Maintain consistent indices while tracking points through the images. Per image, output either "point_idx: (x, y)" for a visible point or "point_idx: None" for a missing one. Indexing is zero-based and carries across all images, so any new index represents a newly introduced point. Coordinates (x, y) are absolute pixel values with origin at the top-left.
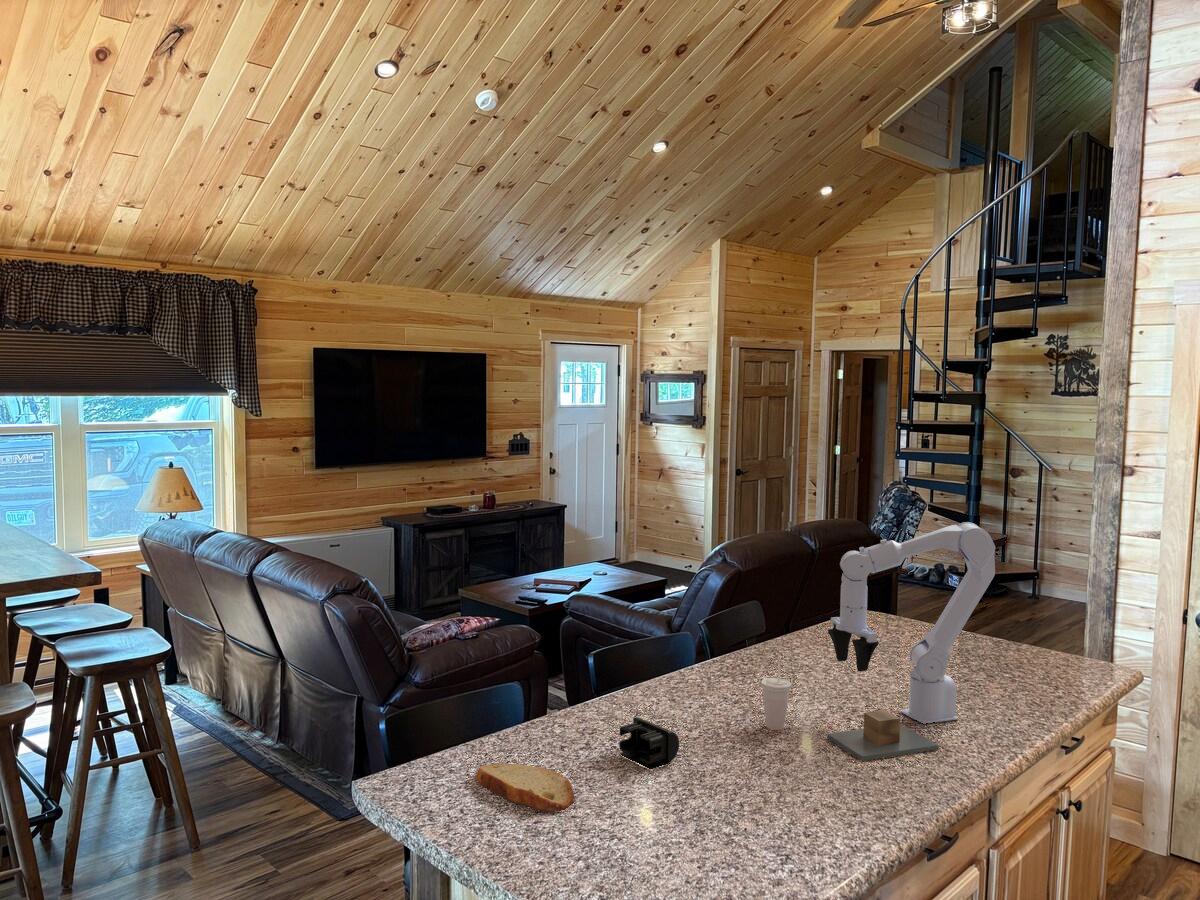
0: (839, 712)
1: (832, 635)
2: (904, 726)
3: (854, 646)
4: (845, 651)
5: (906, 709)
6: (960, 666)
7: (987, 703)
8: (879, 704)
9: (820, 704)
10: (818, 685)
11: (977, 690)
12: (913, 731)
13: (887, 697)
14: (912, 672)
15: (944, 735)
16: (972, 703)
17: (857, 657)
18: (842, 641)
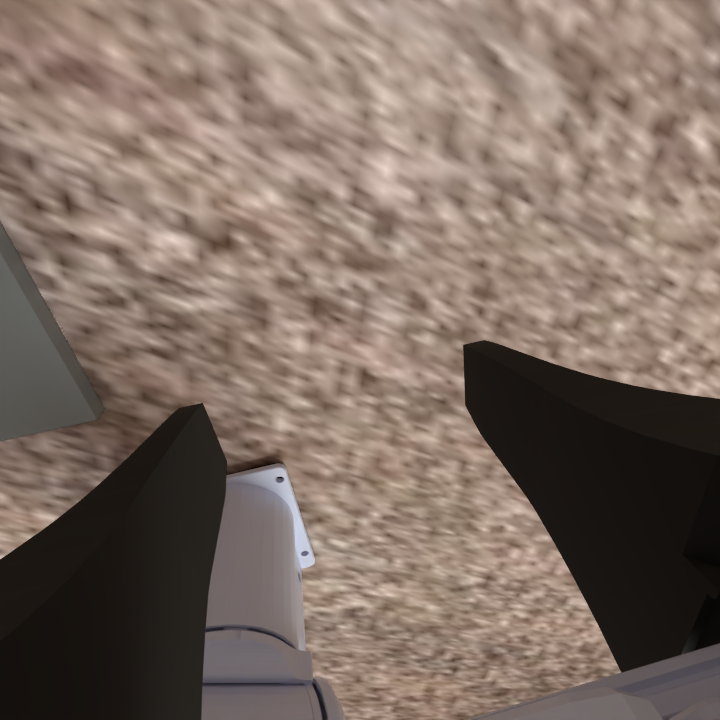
0: (306, 232)
1: (697, 428)
2: (62, 425)
3: (45, 582)
4: (504, 442)
5: (284, 486)
6: (577, 663)
7: (332, 660)
8: (373, 423)
9: (421, 182)
10: (627, 276)
11: (423, 660)
12: (2, 438)
13: (431, 467)
14: (252, 650)
15: (48, 520)
16: (337, 637)
17: (122, 482)
18: (569, 487)
